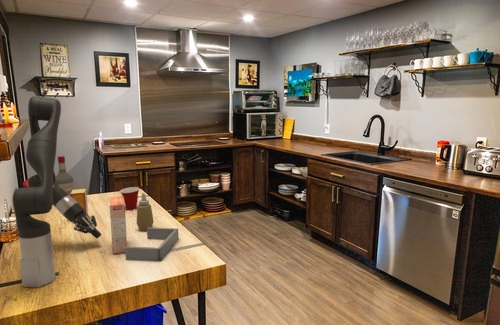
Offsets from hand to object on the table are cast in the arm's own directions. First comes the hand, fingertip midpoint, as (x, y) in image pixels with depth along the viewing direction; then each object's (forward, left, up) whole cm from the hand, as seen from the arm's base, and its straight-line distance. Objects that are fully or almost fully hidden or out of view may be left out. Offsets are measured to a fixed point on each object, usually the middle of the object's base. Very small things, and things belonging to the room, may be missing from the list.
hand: (99, 236), depth 147 cm
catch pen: (0, -24, -4) cm, 24 cm away
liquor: (+56, +54, -5) cm, 78 cm away
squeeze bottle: (+22, -11, -5) cm, 25 cm away
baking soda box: (+32, +29, -5) cm, 43 cm away
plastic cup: (+53, +11, -5) cm, 54 cm away
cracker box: (0, -9, -5) cm, 10 cm away
